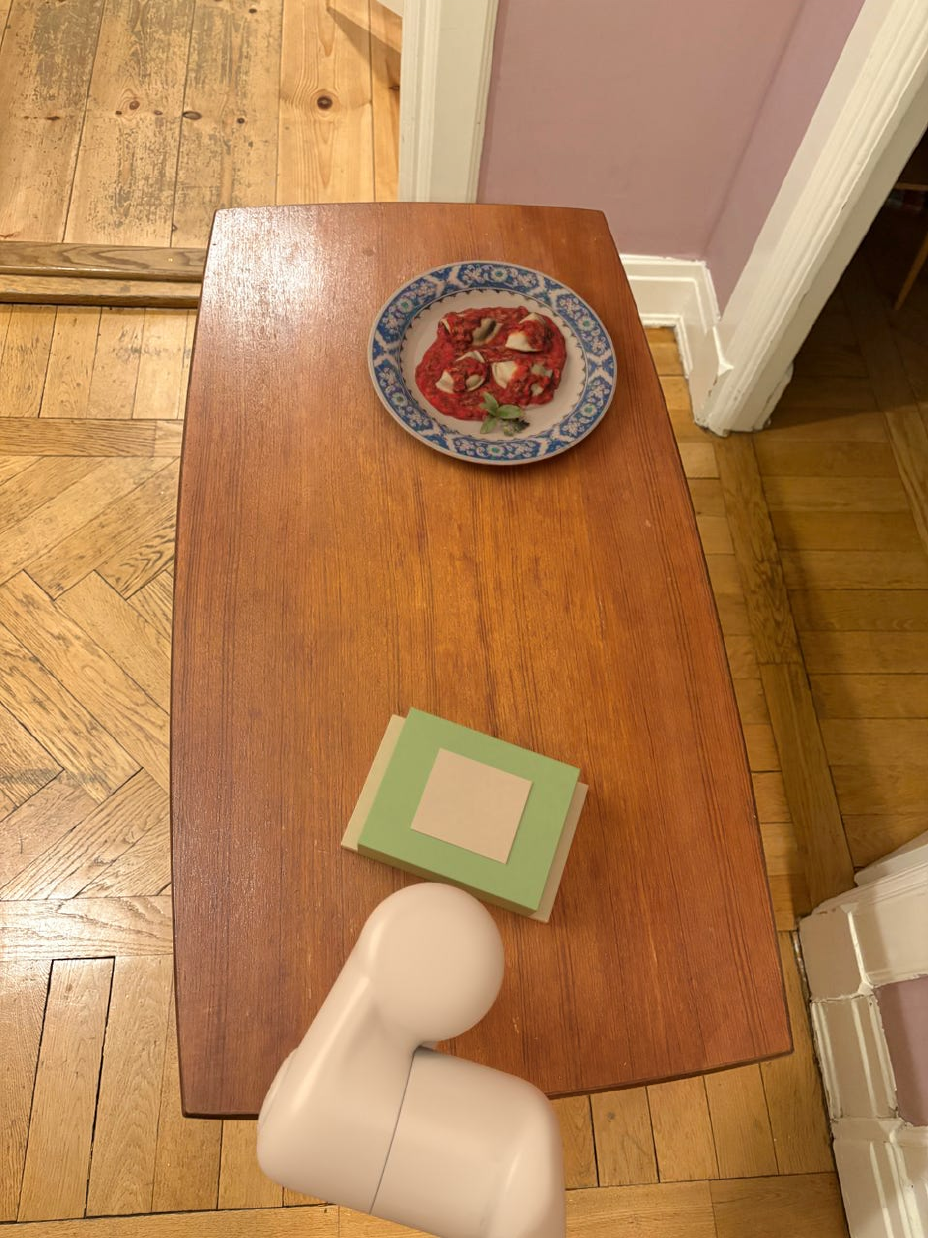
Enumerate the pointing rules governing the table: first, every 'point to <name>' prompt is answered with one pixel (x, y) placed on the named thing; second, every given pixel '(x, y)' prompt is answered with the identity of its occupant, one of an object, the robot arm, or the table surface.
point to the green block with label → (468, 813)
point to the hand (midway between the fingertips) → (405, 989)
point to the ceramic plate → (492, 362)
